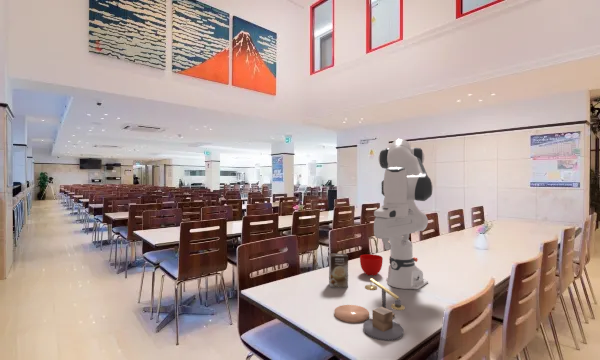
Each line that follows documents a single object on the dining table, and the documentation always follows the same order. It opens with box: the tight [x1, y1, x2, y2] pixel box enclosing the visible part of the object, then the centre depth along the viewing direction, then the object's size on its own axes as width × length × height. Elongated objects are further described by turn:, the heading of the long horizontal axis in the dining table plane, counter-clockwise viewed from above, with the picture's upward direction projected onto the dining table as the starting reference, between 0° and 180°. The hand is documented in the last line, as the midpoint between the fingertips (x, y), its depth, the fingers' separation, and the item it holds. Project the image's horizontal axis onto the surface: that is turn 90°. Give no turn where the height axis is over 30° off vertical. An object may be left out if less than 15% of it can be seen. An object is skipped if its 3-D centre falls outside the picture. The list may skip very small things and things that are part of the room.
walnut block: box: [371, 306, 394, 332], centre depth 111 cm, size 5×5×6 cm
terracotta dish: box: [333, 304, 370, 324], centre depth 124 cm, size 14×14×1 cm
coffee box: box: [328, 253, 349, 288], centre depth 159 cm, size 9×6×16 cm
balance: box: [364, 278, 406, 319], centre depth 122 cm, size 7×18×14 cm, turn 35°
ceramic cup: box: [359, 253, 384, 276], centre depth 180 cm, size 13×17×10 cm
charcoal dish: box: [362, 318, 404, 342], centre depth 111 cm, size 14×14×1 cm
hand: (396, 247), depth 114 cm, fingers open, 8 cm apart
